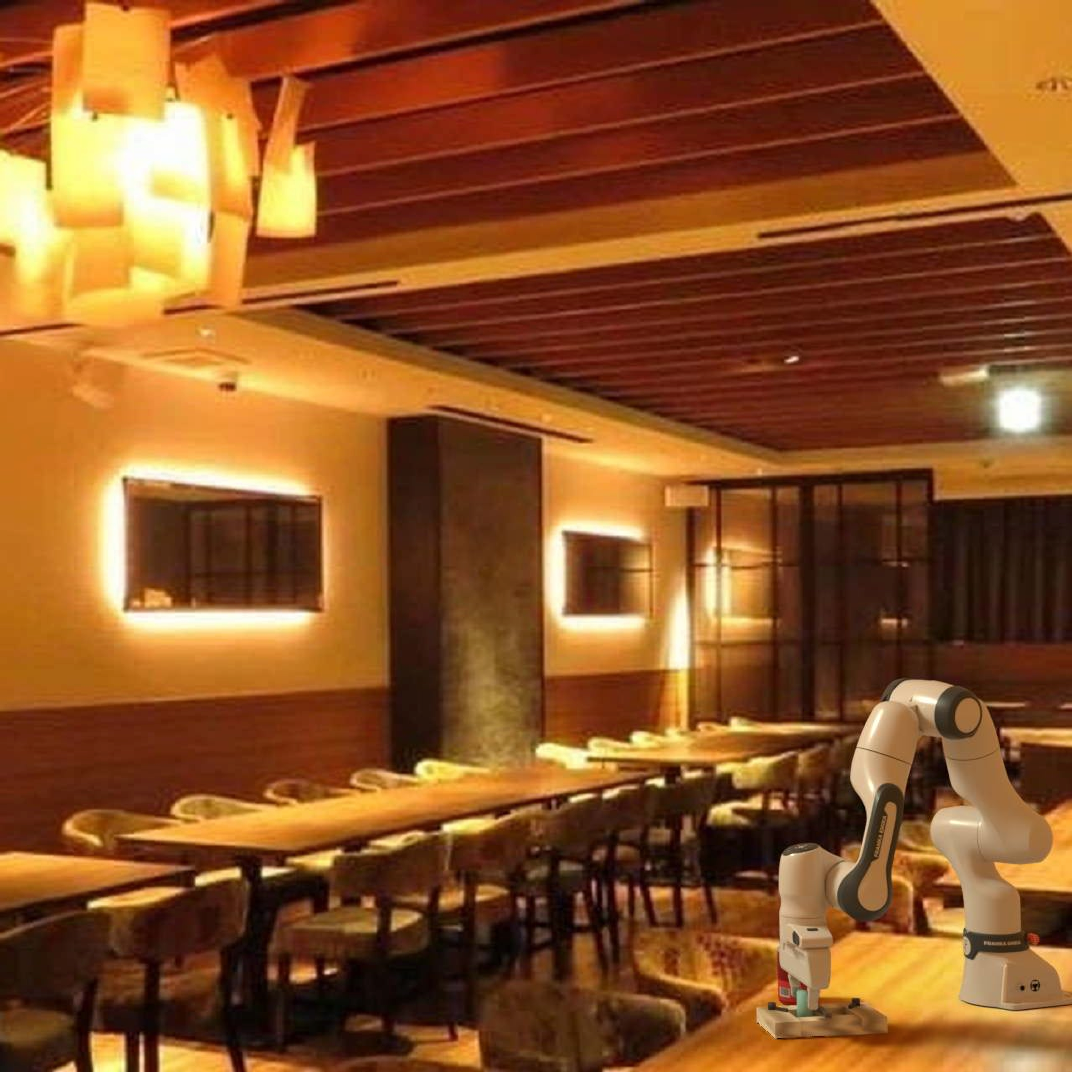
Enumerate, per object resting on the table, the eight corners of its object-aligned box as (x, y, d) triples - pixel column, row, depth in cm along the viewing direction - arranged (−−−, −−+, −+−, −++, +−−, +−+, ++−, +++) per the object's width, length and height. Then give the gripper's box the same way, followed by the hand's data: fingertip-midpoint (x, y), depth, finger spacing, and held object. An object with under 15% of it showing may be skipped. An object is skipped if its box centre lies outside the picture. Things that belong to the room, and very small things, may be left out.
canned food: (817, 1007, 315) (815, 952, 316) (777, 1006, 317) (775, 951, 317) (817, 998, 322) (816, 944, 323) (778, 997, 324) (777, 943, 325)
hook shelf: (864, 1017, 307) (864, 990, 307) (887, 1033, 295) (887, 1005, 295) (756, 1022, 303) (756, 995, 304) (775, 1039, 291) (774, 1010, 292)
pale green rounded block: (795, 1027, 300) (794, 990, 300) (810, 1026, 300) (809, 989, 301) (800, 1031, 297) (799, 994, 297) (815, 1030, 297) (814, 993, 298)
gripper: (770, 920, 309) (772, 991, 309) (803, 941, 289) (805, 1016, 288) (801, 919, 310) (802, 989, 309) (836, 939, 290) (838, 1015, 289)
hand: (804, 1002), depth 299 cm, fingers open, 8 cm apart
